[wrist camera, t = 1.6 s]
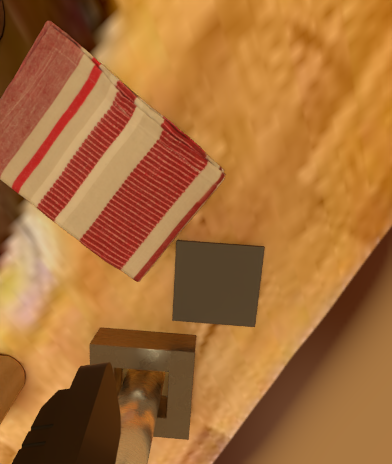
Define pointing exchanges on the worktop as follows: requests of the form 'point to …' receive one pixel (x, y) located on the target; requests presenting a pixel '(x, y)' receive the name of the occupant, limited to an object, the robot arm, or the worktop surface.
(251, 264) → the rubber mat
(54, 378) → the worktop surface
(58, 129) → the dish towel
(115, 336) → the bore block
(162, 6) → the worktop surface
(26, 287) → the worktop surface
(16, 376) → the flower pot
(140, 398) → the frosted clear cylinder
